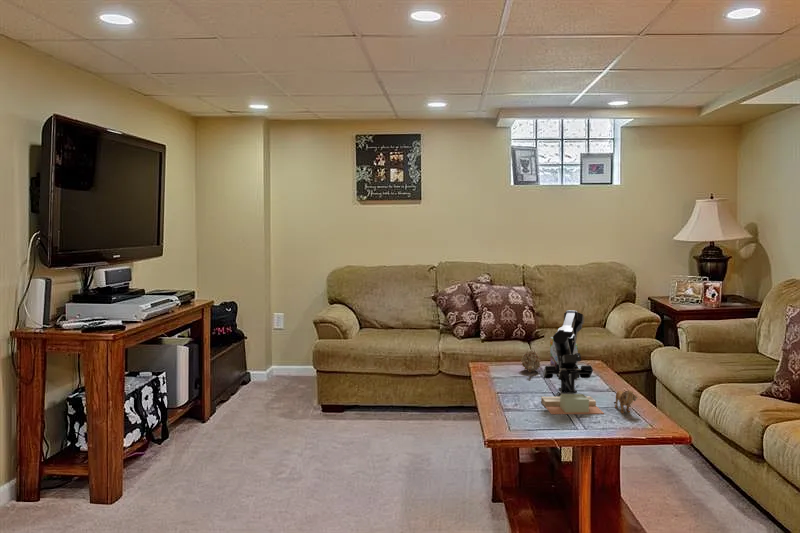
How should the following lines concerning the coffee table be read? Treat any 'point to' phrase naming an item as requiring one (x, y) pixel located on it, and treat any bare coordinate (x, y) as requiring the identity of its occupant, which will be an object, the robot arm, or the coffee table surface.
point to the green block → (574, 403)
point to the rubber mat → (560, 411)
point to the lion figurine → (625, 399)
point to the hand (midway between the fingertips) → (571, 390)
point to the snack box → (554, 355)
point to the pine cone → (530, 361)
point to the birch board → (556, 401)
